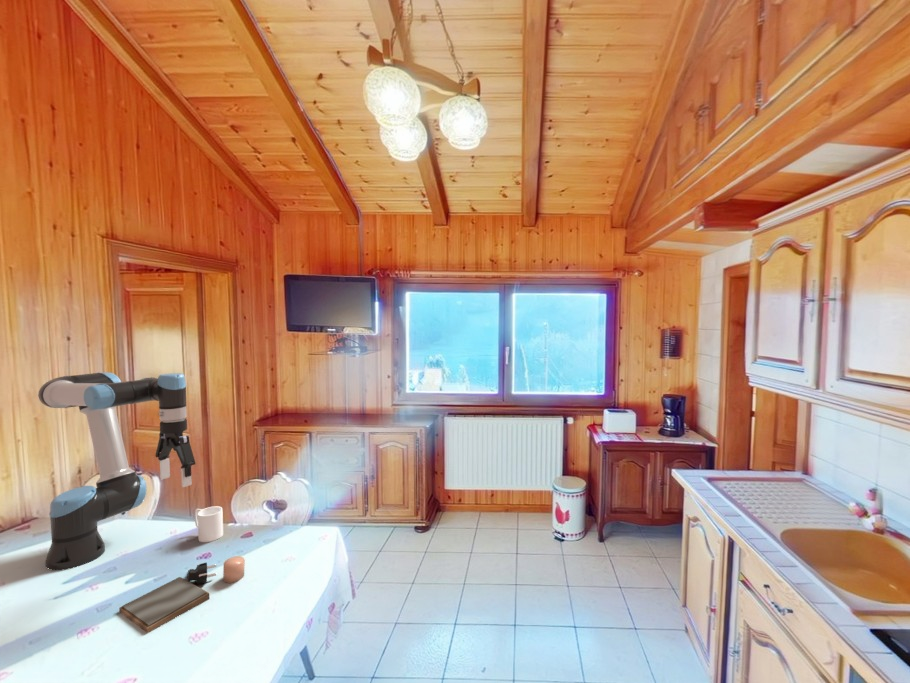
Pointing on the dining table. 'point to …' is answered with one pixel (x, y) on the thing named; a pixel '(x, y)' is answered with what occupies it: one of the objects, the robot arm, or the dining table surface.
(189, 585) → the stand
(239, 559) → the peach rounded cylinder
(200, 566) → the power plug
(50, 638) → the dining table surface
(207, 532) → the cup
